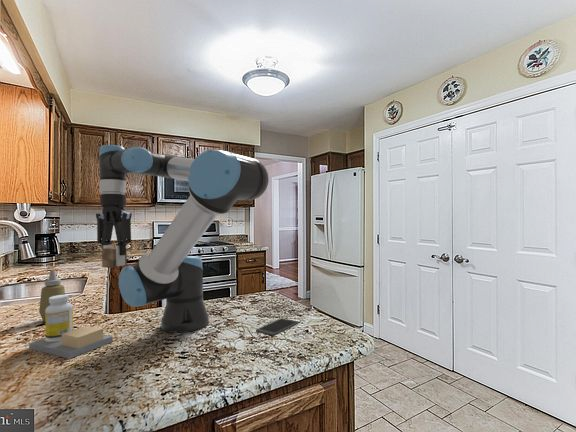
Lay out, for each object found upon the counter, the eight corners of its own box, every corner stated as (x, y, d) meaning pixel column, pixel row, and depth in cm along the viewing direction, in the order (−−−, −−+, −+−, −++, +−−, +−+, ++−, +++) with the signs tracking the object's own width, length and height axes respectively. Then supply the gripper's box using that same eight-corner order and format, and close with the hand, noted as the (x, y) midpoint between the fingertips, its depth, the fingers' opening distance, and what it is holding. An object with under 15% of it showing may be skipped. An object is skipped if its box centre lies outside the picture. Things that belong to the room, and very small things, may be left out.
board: (112, 341, 91) (112, 326, 91) (69, 358, 80) (69, 341, 80) (73, 333, 98) (73, 319, 98) (29, 348, 87) (28, 332, 87)
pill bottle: (62, 331, 95) (62, 293, 95) (78, 333, 93) (77, 294, 93) (40, 339, 89) (39, 298, 89) (56, 341, 87) (55, 300, 87)
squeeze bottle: (52, 324, 107) (51, 272, 108) (33, 323, 109) (32, 271, 109) (72, 317, 115) (72, 268, 115) (54, 316, 117) (54, 268, 117)
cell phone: (255, 332, 97) (254, 329, 97) (282, 320, 108) (282, 317, 108) (273, 337, 93) (273, 334, 93) (299, 324, 104) (299, 321, 104)
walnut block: (126, 265, 103) (126, 247, 103) (113, 267, 98) (112, 248, 98) (116, 264, 105) (115, 247, 105) (102, 267, 100) (101, 248, 100)
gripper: (143, 193, 102) (144, 264, 102) (104, 195, 109) (105, 262, 109) (123, 191, 95) (124, 268, 95) (83, 194, 102) (84, 265, 102)
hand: (114, 265), depth 102 cm, fingers closed on walnut block, 5 cm apart
